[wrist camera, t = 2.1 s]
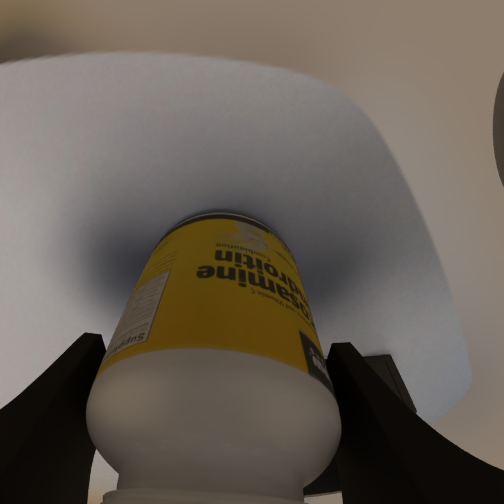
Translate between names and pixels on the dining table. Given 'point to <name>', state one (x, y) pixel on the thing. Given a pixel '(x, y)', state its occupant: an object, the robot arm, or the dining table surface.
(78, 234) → the dining table surface
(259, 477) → the pill bottle
